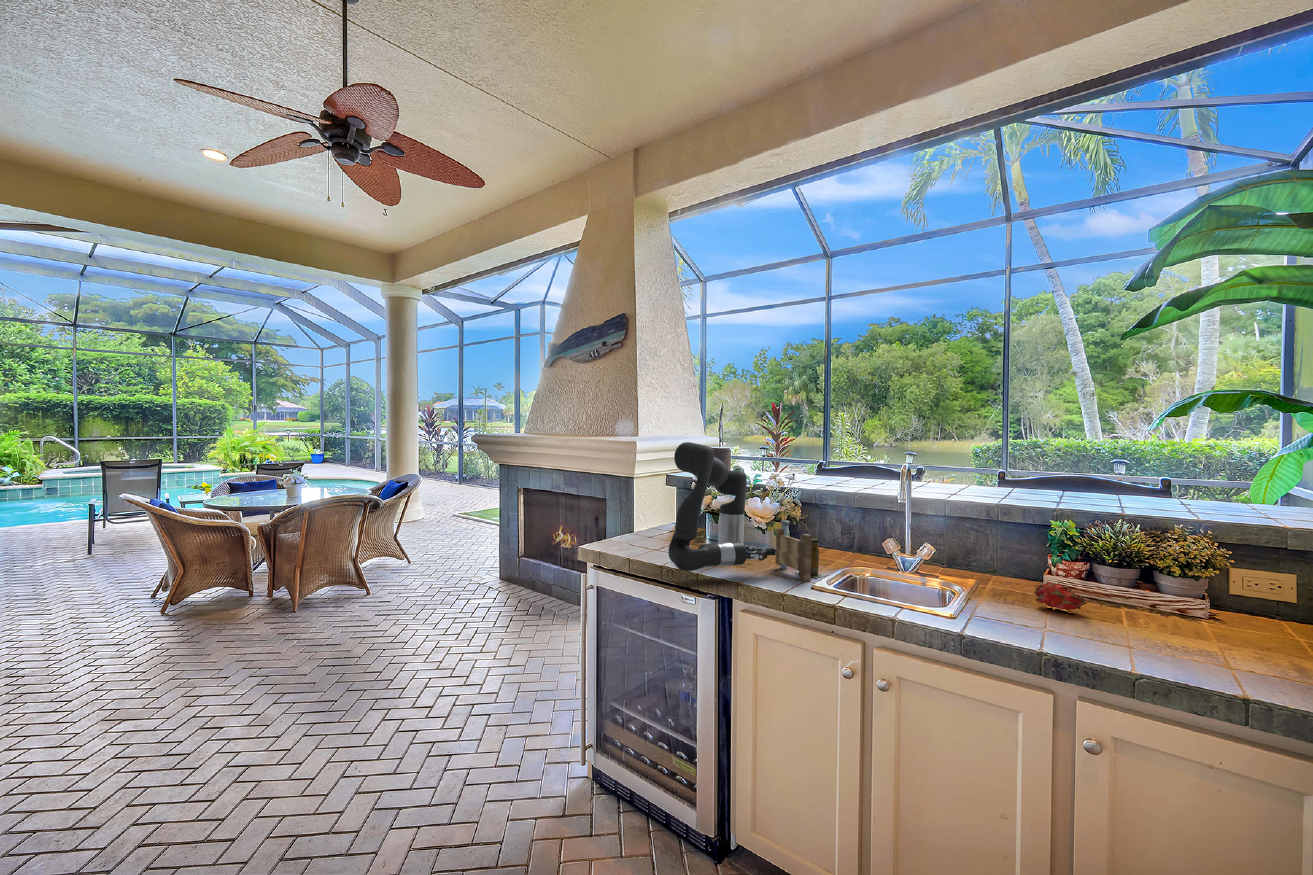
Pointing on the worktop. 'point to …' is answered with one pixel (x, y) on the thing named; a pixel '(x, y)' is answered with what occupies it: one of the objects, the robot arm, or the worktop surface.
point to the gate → (788, 550)
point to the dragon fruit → (1058, 596)
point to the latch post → (785, 527)
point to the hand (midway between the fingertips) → (774, 551)
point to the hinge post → (805, 557)
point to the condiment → (815, 560)
